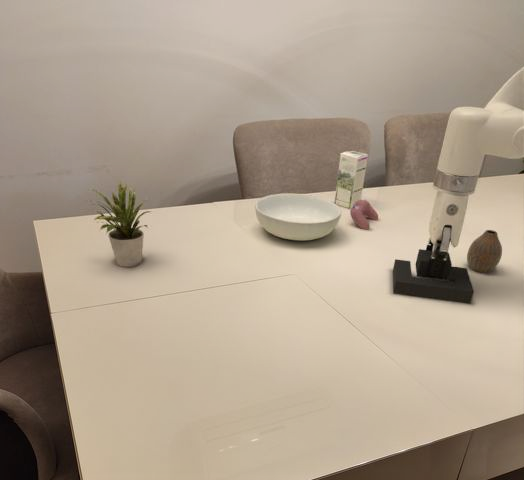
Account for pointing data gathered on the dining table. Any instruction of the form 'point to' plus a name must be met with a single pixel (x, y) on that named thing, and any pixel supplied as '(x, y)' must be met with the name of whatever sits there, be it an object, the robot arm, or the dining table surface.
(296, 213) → the serving bowl
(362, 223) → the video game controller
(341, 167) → the syrup box
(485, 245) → the vase
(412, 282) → the notched pad
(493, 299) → the dining table surface
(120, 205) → the house plant
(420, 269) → the black block
